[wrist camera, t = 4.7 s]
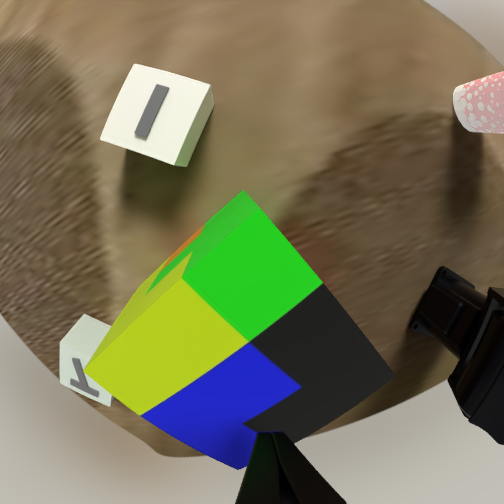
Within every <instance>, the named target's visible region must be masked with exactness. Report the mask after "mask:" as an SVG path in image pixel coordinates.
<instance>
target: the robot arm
mask: <svg viewBox="0 0 504 504" xmlns="http://www.w3.org/2000/svg"><path fill="white" fill-rule="evenodd" d="M443 271H444V272H443ZM474 289H475V286H474V285H473V284H471V283H470V282H468V281H467V280H465V279H464V278H462V277H461V276H459V275H457V274H456V273H454V272H453V271H451V270H450V269H448V268H446V267H445V266H441V267H440V268H439V270H438V272H437V274H436V276H435V278H434V280H433V282H432V284H431V286H430V288H429V290H428V292H427V294H426V296H425V298H424V300H423V302H422V304H421V305H420V307H419V309H418V311H417V313H416V314H415V316H414V318H413V320H412V321H411V323H410V325H409V328H410V329H411V330H412V331H413V332H416V333H419V334H422V335H425V336H429V337H432V338H435V339H437V340H438V341H439V342H441V343H442V344H443V345H444V346H445V347H446V348H447V349H448V350H449V351H450V352H451V353H452V354H453V355H455V356H456V357H457V358H458V359H459V361H458V363H457V365H456V367H455V369H454V371H453V373H452V374H451V375H450V376H449V378H448V383H449V385H450V387H451V389H452V391H453V394H454V396H455V398H456V400H457V403H458V405H459V407H460V409H461V411H462V413H463V415H464V416H465V417H466V418H468V419H469V420H468V421H469V422H470V423H472V424H474V425H476V426H479V427H480V428H482V429H483V430H485V431H486V432H487V433H488V434H489V435H490V436H491V437H492V438H493V439H494V440H495V441H496V442H497V443H498V444H501V445H504V289H502V288H495V287H489V289H488V292H487V294H488V295H487V297H486V296H484V295H483V294H481V293H479V292H478V291H476V290H474ZM235 504H346V501H345V500H344V499H343V498H342V497H341V496H340V495H339V494H338V493H337V492H336V491H335V490H334V489H333V488H332V487H331V486H330V485H329V483H328V482H327V481H326V480H325V479H324V478H323V477H322V476H321V475H320V474H319V472H318V471H317V470H316V469H315V468H314V467H313V466H312V465H311V463H309V461H308V460H307V459H306V458H305V456H304V455H303V454H302V453H301V452H300V451H299V450H298V448H297V447H296V446H295V445H294V443H293V442H292V441H291V440H290V439H289V437H288V436H287V435H286V434H285V433H284V432H282V431H273V432H271V433H270V432H257V434H256V438H255V441H254V445H253V448H252V452H251V455H250V458H249V462H248V465H247V468H246V471H245V475H244V478H243V481H242V484H241V487H240V490H239V493H238V496H237V500H236V503H235Z"/></svg>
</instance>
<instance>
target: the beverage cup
mask: <svg viewBox="0 0 504 504" xmlns="http://www.w3.org/2000/svg"><path fill="white" fill-rule="evenodd" d="M453 105H454V110H455V113H456V115H457V117H458V120H459V121H460V122H461V124H462V125H463V127H464V128H466V129H467V130H468V131H470V132H485V133H501V134H504V71H503V72H500V73H496V74H493V75H490V76H487V77H484V78H481V79H478V80H475V81H472V82H469V83H466V84H463V85H460V86H458V87H456V88H455V90H454V92H453Z"/></svg>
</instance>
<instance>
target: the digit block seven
mask: <svg viewBox="0 0 504 504" xmlns="http://www.w3.org/2000/svg"><path fill="white" fill-rule="evenodd" d="M110 328H111V326H110V325H107V324H105V323H103V322H101V321H99V320H96V319H94V318H92V317H90V316H88V315H86V314H84V315H83V316H82V317H81V318H80V319H79V321H78V322H77V323H76V324H75V325H74V326H73V327H72V329H71V330H70V331H69V332H68V333H67V334H66V336H65V337H64V338H63V339H62V340H61V342H60V383H61V384H63V385H65V386H67V387H69V388H70V389H72V390H74V391H76V392H78V393H80V394H83V395H85V396H87V397H89V398H91V399H93V400H95V401H98V402H100V403H102V404H104V405H107V406H109V407H110V406H111V404H112V401H113V399H114V396H112V395H111V394H110V393H109V392H107V391H106V390H105V389H104V388H102V387H101V386H100V385H99V384H97V383H96V382H95V381H94V380H93V379H91V378H90V377H89V376H88V375H87V374H86V373H85V372H83V370H84V368H85V367H86V365H87V363H88V362H89V360H90V359H91V357H92V355H93V354H94V352H95V351H96V349H97V348H98V346H99V345H100V343H101V342H102V340H103V338H104V337H105V335H106V334H107V332H108V331H109V329H110Z"/></svg>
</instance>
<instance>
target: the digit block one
mask: <svg viewBox="0 0 504 504" xmlns="http://www.w3.org/2000/svg"><path fill="white" fill-rule="evenodd" d="M213 107H214V100H213V95H212V90H211V85H209V84H206V83H203V82H200V81H197V80H193V79H190V78H187V77H184V76H180V75H177V74H173V73H170V72H166V71H163V70H159V69H155V68H151V67H147V66H143V65H138V64H134V65H133V67H132V69H131V71H130V73H129V75H128V77H127V79H126V81H125V83H124V85H123V87H122V89H121V91H120V93H119V95H118V97H117V99H116V102H115V104H114V106H113V108H112V111H111V113H110V115H109V118H108V120H107V122H106V125H105V127H104V130H103V132H102V135H101V138H100V140H103V141H106V142H109V143H112V144H115V145H118V146H121V147H124V148H127V149H130V150H133V151H136V152H138V153H141V154H144V155H147V156H150V157H153V158H155V159H158V160H161V161H164V162H166V163H169V164H172V165H175V166H183V167H187V165H188V163H189V161H190V158H191V156H192V154H193V151H194V149H195V147H196V144H197V142H198V140H199V137H200V135H201V133H202V131H203V129H204V126H205V124H206V122H207V120H208V118H209V116H210V113H211V111H212V109H213Z"/></svg>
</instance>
